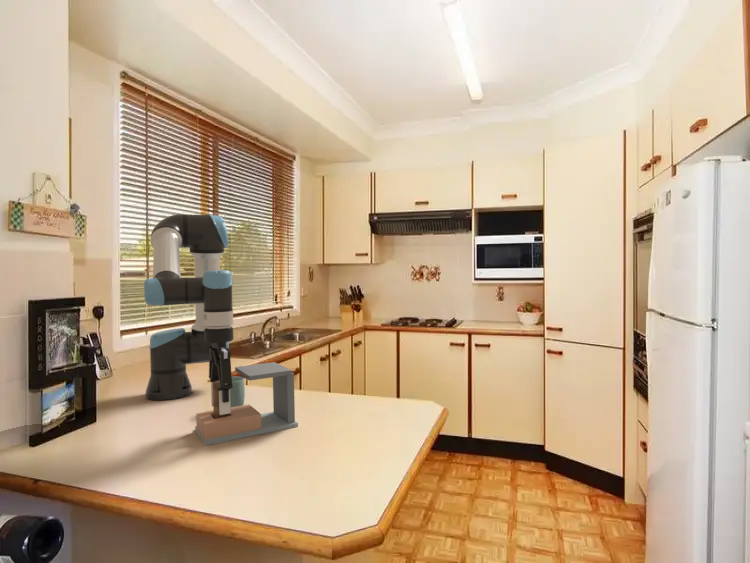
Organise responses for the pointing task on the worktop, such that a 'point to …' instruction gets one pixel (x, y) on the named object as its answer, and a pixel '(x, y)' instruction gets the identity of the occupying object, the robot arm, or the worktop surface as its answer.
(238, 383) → the cup
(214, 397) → the peg
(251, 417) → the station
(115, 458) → the worktop surface
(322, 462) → the worktop surface
